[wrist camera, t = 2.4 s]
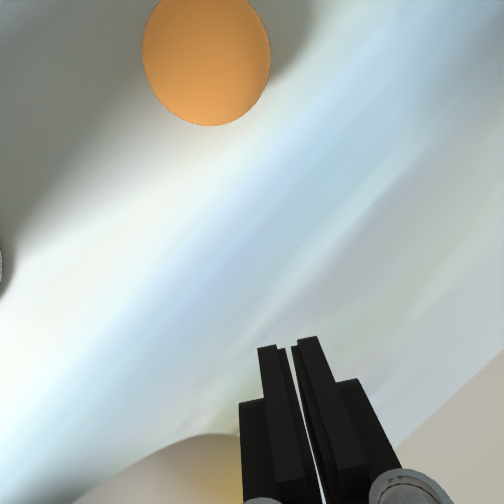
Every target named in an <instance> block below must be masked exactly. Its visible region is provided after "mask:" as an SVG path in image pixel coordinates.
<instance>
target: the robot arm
mask: <svg viewBox="0 0 504 504" xmlns="http://www.w3.org/2000/svg"><path fill="white" fill-rule="evenodd" d="M1 278H2V257H1V252H0V282H1ZM297 343H298V345H296V346H291V351H292V356H293V361H294V366H295V371H296V376H297V382H298V387H299V392H300V397H301V402H302V407H303V412H304V417H305V422H306V427H307V431H308V435H309V439H310V443H311V446H312V450H313V454H314V458H315V462H316V466H317V470H318V473H319V477H320V481H321V485H322V489H323V493H324V497H325V500H326V504H454V503H453V501H452V500H451V499H450V497H449V496H448V495H447V493H446V492H445V491H444V490H443V489H442V488H441V487H440V485H439V484H438V483H437V482H436V481H434V480H433V479H431V478H430V477H428V476H426V475H425V474H423V473H421V472H418V471H415V470H412V469H403V468H402V467H401V464H400V462H399V460H398V458H397V456H396V454H395V452H394V450H393V448H392V446H391V444H390V442H389V440H388V438H387V436H386V434H385V432H384V430H383V428H382V426H381V424H380V422H379V420H378V418H377V416H376V414H375V412H374V410H373V408H372V406H371V404H370V402H369V400H368V398H367V396H366V394H365V392H364V390H363V388H362V385H361V384H360V382H359V380H358V379H357V378H355V379H351V380H346V381H341V382H335V380H334V377H333V375H332V372H331V370H330V367H329V365H328V363H327V360H326V358H325V355H324V353H323V350H322V348H321V345H320V343H319V340H318V338H317V336H313V337H308V338H303V339H298V340H297ZM257 351H258V358H259V365H260V372H261V380H262V387H263V394H264V398H261V399H256V400H251V401H246V402H242V403H239V425H240V445H241V464H242V484H243V504H323V503H322V498H321V493H320V488H319V483H318V478H317V473H316V469H315V465H314V460H313V456H312V453H311V449H310V445H309V441H308V437H307V433H306V429H305V425H304V421H303V417H302V413H301V409H300V405H299V402H298V398H297V394H296V390H295V386H294V382H293V378H292V374H291V370H290V366H289V362H288V358H287V354H286V350H285V348H282V349H277V346H276V344H275V345H270V346H265V347H261V348H257Z"/></svg>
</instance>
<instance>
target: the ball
mask: <svg viewBox="0 0 504 504" xmlns="http://www.w3.org/2000/svg"><path fill="white" fill-rule="evenodd" d="M142 58H143V65H144V70H145V74H146V77H147V79H148V82H149V84H150V86H151V88H152V90H153V92H154V93H155V95H156V96H157V98H158V99H159V100H160V102H161V103H162V104H163V105H164V106H165V107H166V108H167V109H168V110H169V111H171V112H172V113H173V114H175V115H176V116H178V117H179V118H181V119H183V120H185V121H188V122H190V123H193V124H197V125H203V126H217V125H223V124H226V123H230V122H232V121H234V120H236V119H238V118H240V117H241V116H243V115H244V114H245V113H246V112H248V111H249V110H250V109H251V108H252V107H253V106H254V105H255V103H256V102H257V101H258V99H259V98H260V96H261V94H262V92H263V90H264V88H265V86H266V83H267V80H268V76H269V72H270V64H271V53H270V44H269V40H268V35H267V33H266V30H265V27H264V25H263V23H262V21H261V19H260V17H259V16H258V14H257V12H256V11H255V10H254V8H253V7H252V6H251V5H250V4H249V2H247V1H246V0H161V1H160V2H159V3H158V5H157V6H156V7H155V8H154V10H153V12H152V14H151V15H150V17H149V20H148V22H147V24H146V28H145V31H144V36H143V43H142Z"/></svg>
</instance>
